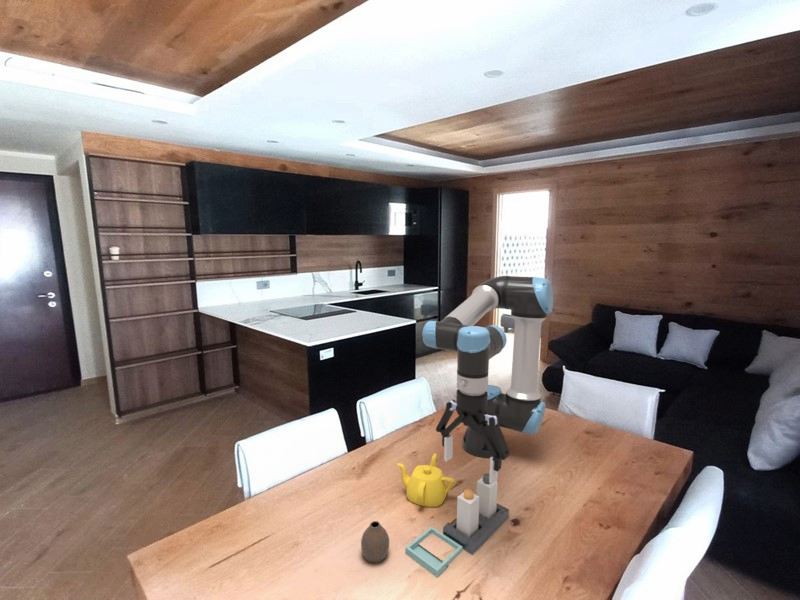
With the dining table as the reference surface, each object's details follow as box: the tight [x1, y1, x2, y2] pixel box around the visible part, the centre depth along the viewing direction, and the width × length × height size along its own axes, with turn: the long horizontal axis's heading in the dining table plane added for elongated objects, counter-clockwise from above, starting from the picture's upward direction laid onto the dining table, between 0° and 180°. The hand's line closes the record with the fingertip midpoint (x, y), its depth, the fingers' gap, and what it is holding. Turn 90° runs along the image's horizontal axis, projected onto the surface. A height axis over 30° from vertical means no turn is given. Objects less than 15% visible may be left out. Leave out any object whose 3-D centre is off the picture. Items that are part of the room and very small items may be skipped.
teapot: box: [396, 453, 455, 508], centre depth 117 cm, size 14×13×10 cm
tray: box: [404, 526, 464, 578], centre depth 97 cm, size 10×10×2 cm
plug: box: [456, 488, 479, 538], centre depth 101 cm, size 4×4×12 cm
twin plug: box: [476, 473, 499, 520], centre depth 107 cm, size 4×4×12 cm
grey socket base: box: [442, 502, 510, 556], centre depth 105 cm, size 9×18×4 cm, turn 136°
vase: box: [360, 520, 390, 564], centre depth 95 cm, size 7×7×9 cm
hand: (469, 469), depth 99 cm, fingers open, 13 cm apart
